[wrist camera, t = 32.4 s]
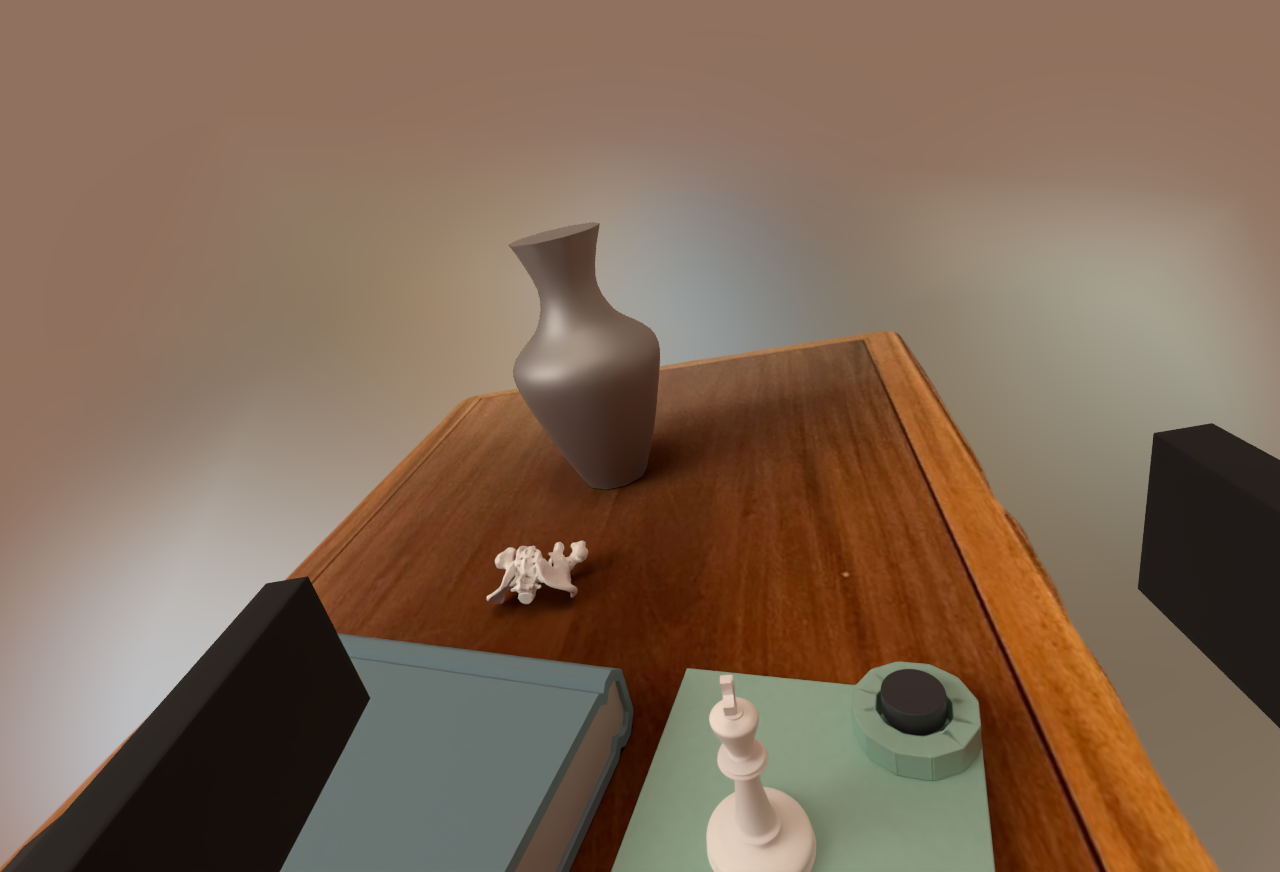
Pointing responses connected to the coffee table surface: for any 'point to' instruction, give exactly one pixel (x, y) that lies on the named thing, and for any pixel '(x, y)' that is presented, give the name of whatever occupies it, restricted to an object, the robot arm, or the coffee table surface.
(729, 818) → the chess piece
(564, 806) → the book
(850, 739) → the scale
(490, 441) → the coffee table surface
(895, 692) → the button
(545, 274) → the vase
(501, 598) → the pelvis model
